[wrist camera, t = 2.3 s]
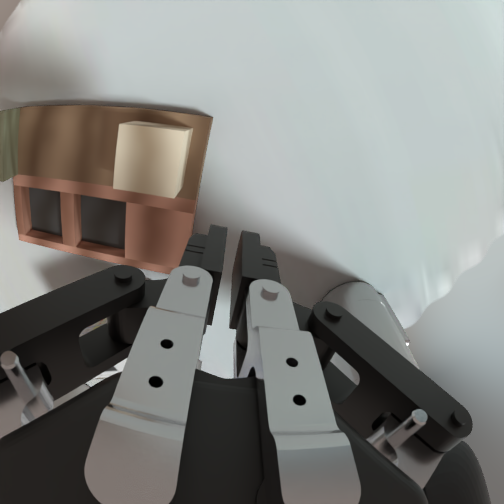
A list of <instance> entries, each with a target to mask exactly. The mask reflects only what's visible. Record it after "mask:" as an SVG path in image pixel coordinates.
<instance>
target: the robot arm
mask: <svg viewBox="0 0 504 504" xmlns="http://www.w3.org/2000/svg"><path fill="white" fill-rule="evenodd" d="M226 236H227V227H221V226H216V225H211V226H210V229H209V233H208V235H203V234H198V233H196V234H194V235H193V236H191V237H190V238H189V240H188V243H187V245H186V248H185V251H184V253H183V256H182V259H181V261H180V264H179V267H177V268H175V269H173V270H172V271H171V273H170V275H169V277H168V278H167V279H163V280H145V275H144V273H143V272H142V271H141V270H139V269H138V268H136V267H133V266H129V265H118V266H114V267H111V268H108V269H106V270H103V271H101V272H98V273H96V274H93V275H91V276H88V277H86V278H83V279H81V280H78V281H76V282H73V283H71V284H68V285H66V286H63V287H61V288H59V289H56V290H54V291H51V292H49V293H47V294H44V295H42V296H39V297H37V298H35V299H32V300H30V301H28V302H25V303H23V304H21V305H19V306H16V307H14V308H12V309H9V310H7V311H5V312H3V313H0V504H491V502H490V498H489V493H488V490H487V486H486V482H485V479H484V476H483V473H482V470H481V467H480V465H479V462H478V460H477V458H476V456H475V454H474V452H473V451H472V449H471V448H470V447H469V445H468V444H467V443H465V442H464V441H462V440H463V439H465V438H466V437H467V436H468V435H469V434H470V433H471V431H472V419H471V416H470V414H469V413H468V411H467V410H466V409H465V408H464V407H463V406H462V405H461V404H460V403H459V402H457V401H456V400H455V399H454V398H453V397H451V396H450V395H449V394H448V393H447V392H445V391H444V390H443V389H442V388H441V387H439V386H438V385H437V384H436V383H435V382H434V381H432V380H431V379H430V378H429V377H427V376H426V375H425V374H424V373H423V372H422V371H420V369H419V367H418V365H417V363H416V361H415V359H414V357H413V356H412V353H411V352H410V350H409V348H408V345H409V341H410V340H409V338H408V336H407V334H406V332H405V331H404V329H403V327H402V325H401V324H400V322H399V320H398V319H397V317H396V315H395V313H394V312H393V310H392V308H391V307H390V305H389V303H388V302H387V300H386V298H385V297H384V295H380V294H378V293H377V291H376V290H375V288H373V287H372V286H371V285H369V284H367V283H364V282H350V283H346V284H343V285H340V286H338V287H337V288H335V289H333V290H332V291H331V292H329V293H328V294H327V295H326V296H325V297H324V299H323V300H322V302H318V303H316V304H315V305H314V307H313V310H311V309H309V308H306V307H303V306H300V305H298V304H296V303H294V302H292V299H291V295H290V292H289V291H288V290H287V288H286V287H284V286H283V285H281V282H280V277H279V271H278V268H277V267H278V266H277V262H276V256H275V253H274V252H273V251H272V250H271V249H270V247H266V246H261V245H260V236H259V234H257V233H252V232H247V231H242V233H241V236H240V240H239V245H238V249H237V253H236V258H235V262H234V267H233V273H232V287H231V305H230V324H229V328H230V329H236V337H235V341H234V345H233V357H234V378H233V379H224V378H220V377H217V376H215V375H212V374H209V373H206V372H204V371H201V370H199V369H197V367H198V361H199V356H200V350H201V344H202V339H203V335H204V334H205V332H206V327H207V325H212V321H213V315H214V310H215V305H216V300H217V295H218V290H219V285H220V280H221V275H222V269H223V261H224V252H225V244H226ZM105 318H107V323H106V324H104V325H102V326H100V327H98V328H96V329H94V330H92V331H90V332H88V333H86V334H84V335H82V336H80V334H81V332H82V331H83V330H84V329H85V328H87V327H89V326H91V325H93V324H95V323H97V322H99V321H101V320H103V319H105ZM79 336H80V337H79ZM126 358H127V361H126V363H125V366H124V368H123V371H121V372H118V373H116V374H113V375H111V376H109V377H107V378H105V379H104V380H102V381H100V382H99V383H97V384H95V385H94V386H92V387H90V388H89V389H87V390H85V391H83V392H82V393H80V394H78V395H77V396H75V397H73V398H71V399H70V400H68V401H66V402H64V403H63V404H61V405H59V406H57V407H56V408H54V409H53V405H54V401H55V400H57V399H59V398H61V397H62V396H64V395H66V394H67V393H69V392H71V391H73V390H74V389H76V388H78V387H79V386H81V385H83V384H85V383H86V382H88V381H90V380H91V379H93V378H95V377H96V376H98V375H100V374H101V373H103V372H105V371H106V370H108V369H110V368H111V367H113V366H115V365H116V364H118V363H120V362H121V361H123V360H125V359H126Z"/></svg>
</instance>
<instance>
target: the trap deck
mask: <svg viewBox="0 0 504 504" xmlns="http://www.w3.org/2000/svg"><path fill="white" fill-rule="evenodd" d="M132 121H142V122H151V123H160V124H168V125H175V126H183V127H189V128H193V131H192V136H191V142H190V147H189V153H188V158H187V164H186V170H185V177H184V183H183V187H182V188H181V190H180V191H179V193H178V194H177V195H176V197H175V198H174V199H173V198H168V197H162V196H156V195H150V194H144V193H138V192H132V191H125V190H119V189H113V181H114V167H115V156H116V147H117V138H118V130H119V124H121V123H126V122H132ZM212 121H213V117H207V116H201V115H195V114H188V113H181V112H173V111H165V110H156V109H146V108H134V107H120V106H99V105H47V106H28V107H20V108H14V109H8V110H3V111H0V181H2V182H4V181H6V180H8V179H10V178H12V177H13V183H14V199H15V210H16V220H17V228H18V235H19V240H21V241H25V242H29V243H33V244H37V245H41V246H45V247H49V248H53V249H57V250H61V251H65V252H69V253H73V254H78V255H82V256H86V257H91V258H95V259H99V260H104V261H108V262H113V263H118V264H122V265H129V266H133V267H136V268H141V269H146V270H151V271H156V272H160V273H165V274H170V273H171V271H172V270H173V269H175V268H177V267H179V264H180V261H181V259H182V256H183V253H184V251H185V248H186V245H187V243H188V240H189V238H190V237H191V236H192V231H193V225H194V218H195V212H196V206H197V200H198V194H199V188H200V182H201V177H202V171H203V166H204V160H205V155H206V150H207V145H208V140H209V135H210V130H211V125H212Z"/></svg>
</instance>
